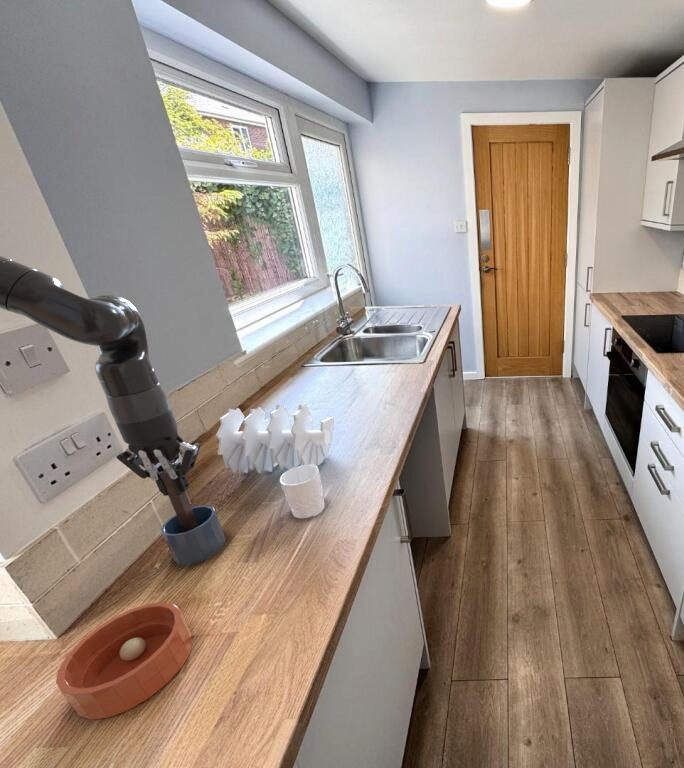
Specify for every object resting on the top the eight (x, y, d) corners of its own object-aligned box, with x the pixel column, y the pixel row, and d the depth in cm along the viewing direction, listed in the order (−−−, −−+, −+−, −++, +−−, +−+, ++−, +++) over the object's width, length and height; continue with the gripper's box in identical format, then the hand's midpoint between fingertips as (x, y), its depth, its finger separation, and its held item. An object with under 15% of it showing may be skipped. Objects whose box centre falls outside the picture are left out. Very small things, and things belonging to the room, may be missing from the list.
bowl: (47, 728, 54) (25, 700, 52) (125, 632, 67) (110, 607, 65) (154, 714, 56) (137, 687, 53) (212, 623, 68) (200, 598, 66)
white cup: (327, 516, 92) (317, 479, 88) (288, 525, 89) (277, 488, 85) (327, 495, 99) (319, 461, 95) (292, 504, 96) (281, 469, 92)
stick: (187, 540, 81) (158, 473, 75) (192, 534, 82) (165, 468, 76) (196, 539, 81) (169, 473, 75) (202, 533, 83) (175, 467, 77)
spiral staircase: (328, 484, 110) (231, 486, 108) (342, 430, 121) (255, 432, 119) (306, 447, 96) (195, 449, 94) (325, 391, 108) (226, 392, 106)
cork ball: (118, 666, 61) (110, 653, 60) (133, 646, 64) (126, 634, 63) (139, 664, 62) (132, 650, 60) (153, 644, 64) (146, 632, 63)
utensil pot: (165, 569, 79) (149, 537, 76) (192, 536, 87) (180, 507, 84) (211, 565, 80) (198, 533, 77) (234, 533, 88) (223, 503, 85)
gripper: (197, 400, 75) (224, 478, 82) (117, 405, 74) (152, 483, 80) (169, 419, 68) (202, 502, 75) (81, 424, 67) (122, 508, 74)
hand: (176, 492), depth 78 cm, fingers closed on stick, 2 cm apart
